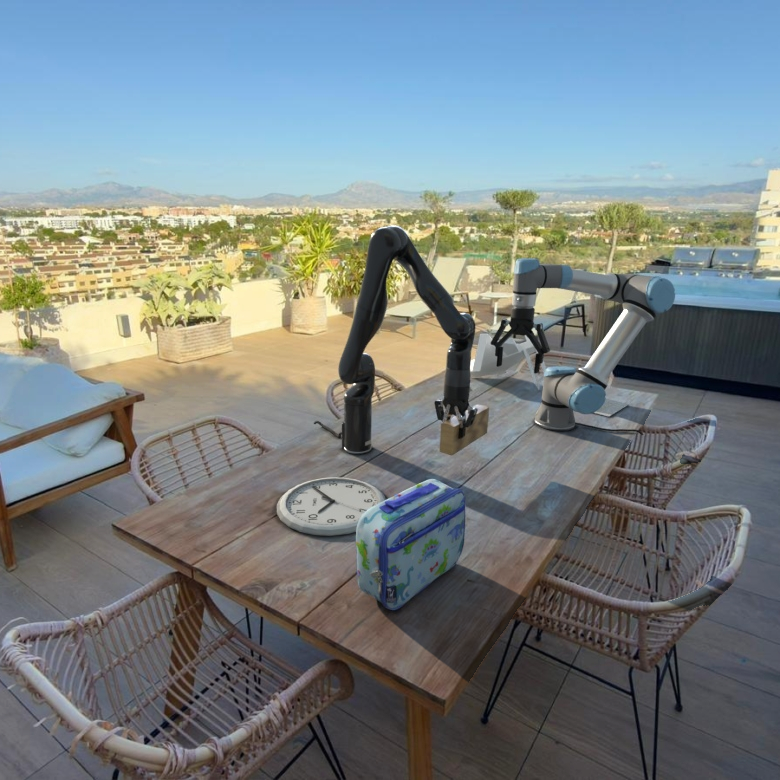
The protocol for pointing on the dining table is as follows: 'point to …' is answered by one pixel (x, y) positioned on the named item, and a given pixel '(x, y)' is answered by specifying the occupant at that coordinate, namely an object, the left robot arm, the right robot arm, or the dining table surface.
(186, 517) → the dining table surface
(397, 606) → the lunch box
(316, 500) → the wall clock
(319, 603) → the dining table surface
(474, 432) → the bar
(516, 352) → the white plastic object
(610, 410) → the thin gray rectangular panel
